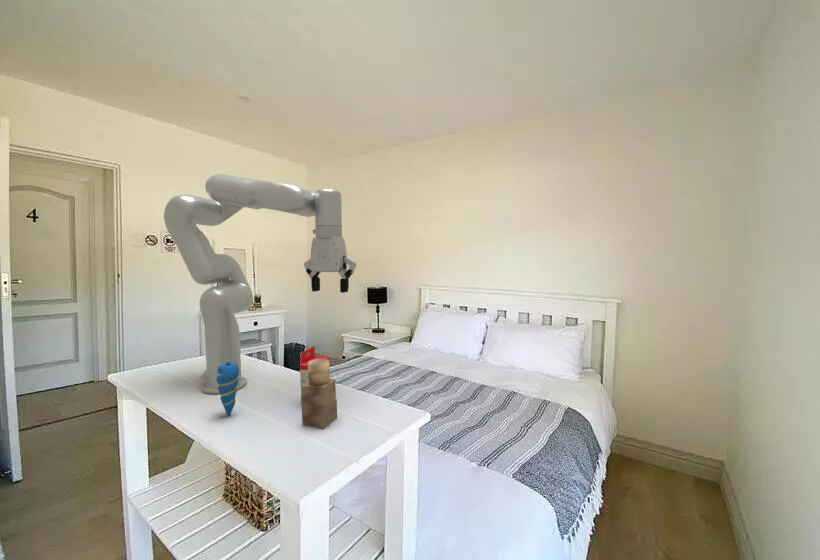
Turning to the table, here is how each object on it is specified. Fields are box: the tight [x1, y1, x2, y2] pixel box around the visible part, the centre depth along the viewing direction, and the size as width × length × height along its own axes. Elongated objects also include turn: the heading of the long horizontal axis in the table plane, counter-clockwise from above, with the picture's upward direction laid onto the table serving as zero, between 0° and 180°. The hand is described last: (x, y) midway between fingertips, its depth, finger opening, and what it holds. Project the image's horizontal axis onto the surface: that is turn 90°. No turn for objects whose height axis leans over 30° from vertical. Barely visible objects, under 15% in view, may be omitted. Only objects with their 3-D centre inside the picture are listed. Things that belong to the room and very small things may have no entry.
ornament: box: [217, 358, 239, 417], centre depth 91 cm, size 5×5×15 cm
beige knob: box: [308, 359, 331, 386], centre depth 87 cm, size 5×5×5 cm
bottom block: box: [301, 398, 338, 430], centre depth 88 cm, size 6×6×5 cm
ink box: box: [299, 346, 330, 407], centre depth 100 cm, size 8×5×15 cm, turn 168°
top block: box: [300, 377, 337, 408], centre depth 88 cm, size 6×6×5 cm
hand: (329, 291), depth 105 cm, fingers open, 9 cm apart
